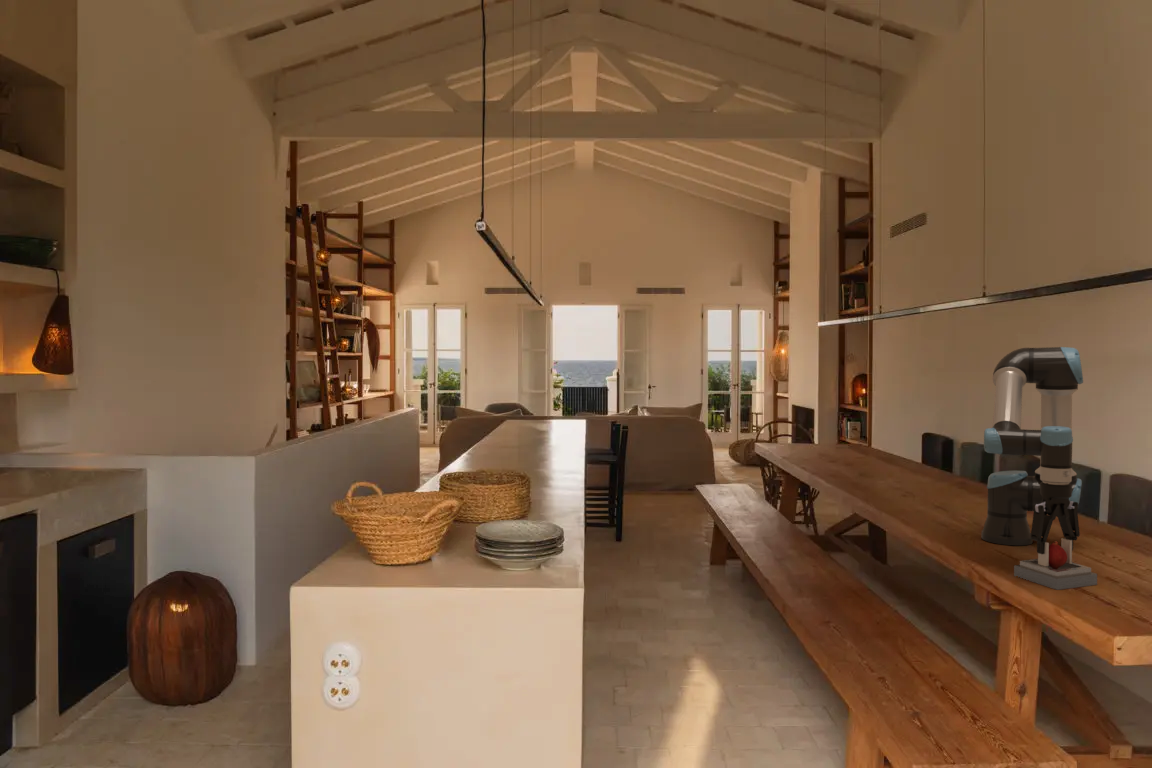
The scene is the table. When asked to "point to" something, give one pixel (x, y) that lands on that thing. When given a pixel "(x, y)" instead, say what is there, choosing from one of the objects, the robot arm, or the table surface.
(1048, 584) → the silver shallow square tray
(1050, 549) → the onion
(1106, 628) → the table surface
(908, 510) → the table surface
